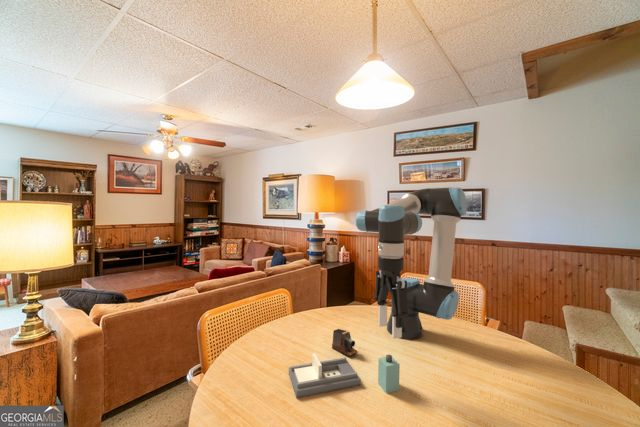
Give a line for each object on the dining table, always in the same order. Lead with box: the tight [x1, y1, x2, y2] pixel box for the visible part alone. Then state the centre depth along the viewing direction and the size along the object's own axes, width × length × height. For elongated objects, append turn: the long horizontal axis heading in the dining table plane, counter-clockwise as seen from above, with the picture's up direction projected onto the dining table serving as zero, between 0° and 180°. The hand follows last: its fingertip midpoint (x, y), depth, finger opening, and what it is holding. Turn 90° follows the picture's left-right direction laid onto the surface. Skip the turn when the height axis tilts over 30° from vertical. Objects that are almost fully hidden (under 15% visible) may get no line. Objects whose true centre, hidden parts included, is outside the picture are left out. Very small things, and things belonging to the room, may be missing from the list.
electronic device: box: [331, 328, 359, 358], centre depth 103 cm, size 4×10×8 cm, turn 43°
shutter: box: [294, 353, 322, 383], centre depth 84 cm, size 7×7×5 cm
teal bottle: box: [377, 354, 401, 394], centre depth 83 cm, size 4×4×10 cm
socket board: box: [288, 357, 361, 399], centre depth 86 cm, size 20×12×3 cm, turn 107°
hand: (389, 331), depth 82 cm, fingers open, 7 cm apart
